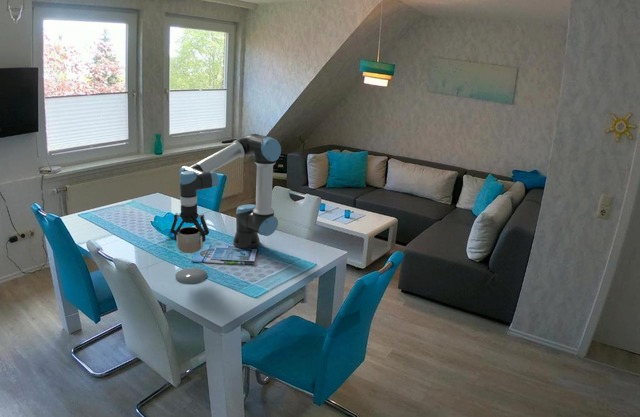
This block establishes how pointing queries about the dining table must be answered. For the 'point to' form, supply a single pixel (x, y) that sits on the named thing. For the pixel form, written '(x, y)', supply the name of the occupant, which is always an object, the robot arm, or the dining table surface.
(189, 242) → the planter
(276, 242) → the dining table surface
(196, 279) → the saucer
